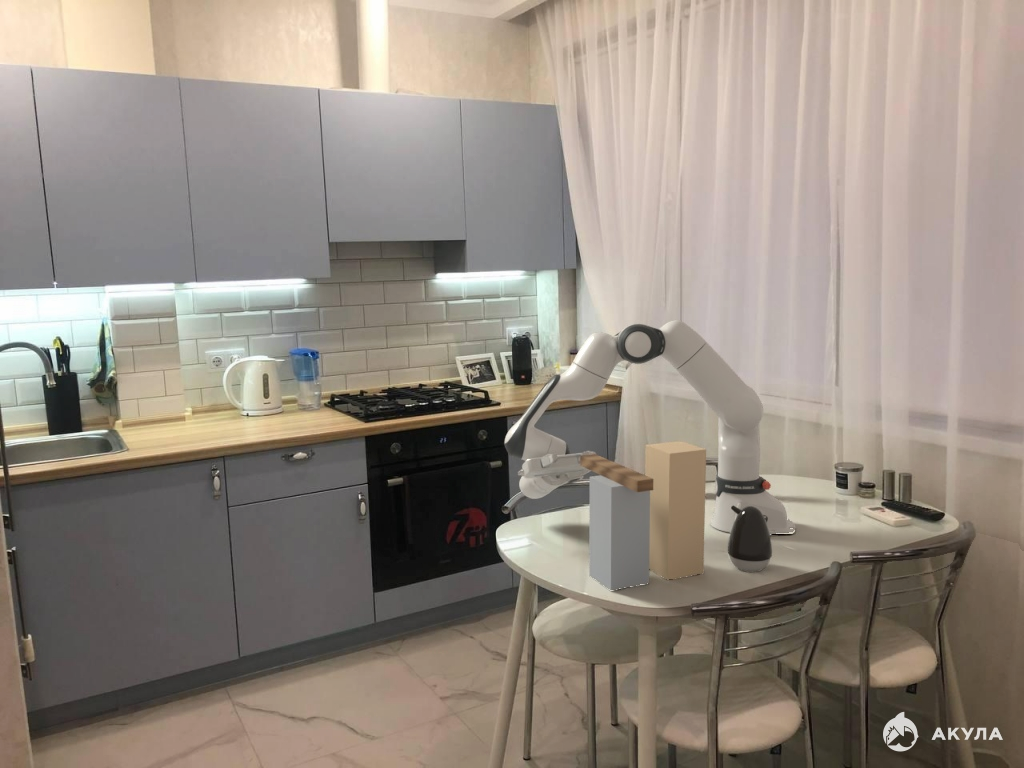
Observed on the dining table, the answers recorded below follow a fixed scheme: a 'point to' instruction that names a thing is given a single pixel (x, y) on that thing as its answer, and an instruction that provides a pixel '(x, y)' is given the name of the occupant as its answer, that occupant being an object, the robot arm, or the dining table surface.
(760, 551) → the pump dispenser
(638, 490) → the slat
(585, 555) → the dining table surface
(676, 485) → the carton
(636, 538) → the grey box
